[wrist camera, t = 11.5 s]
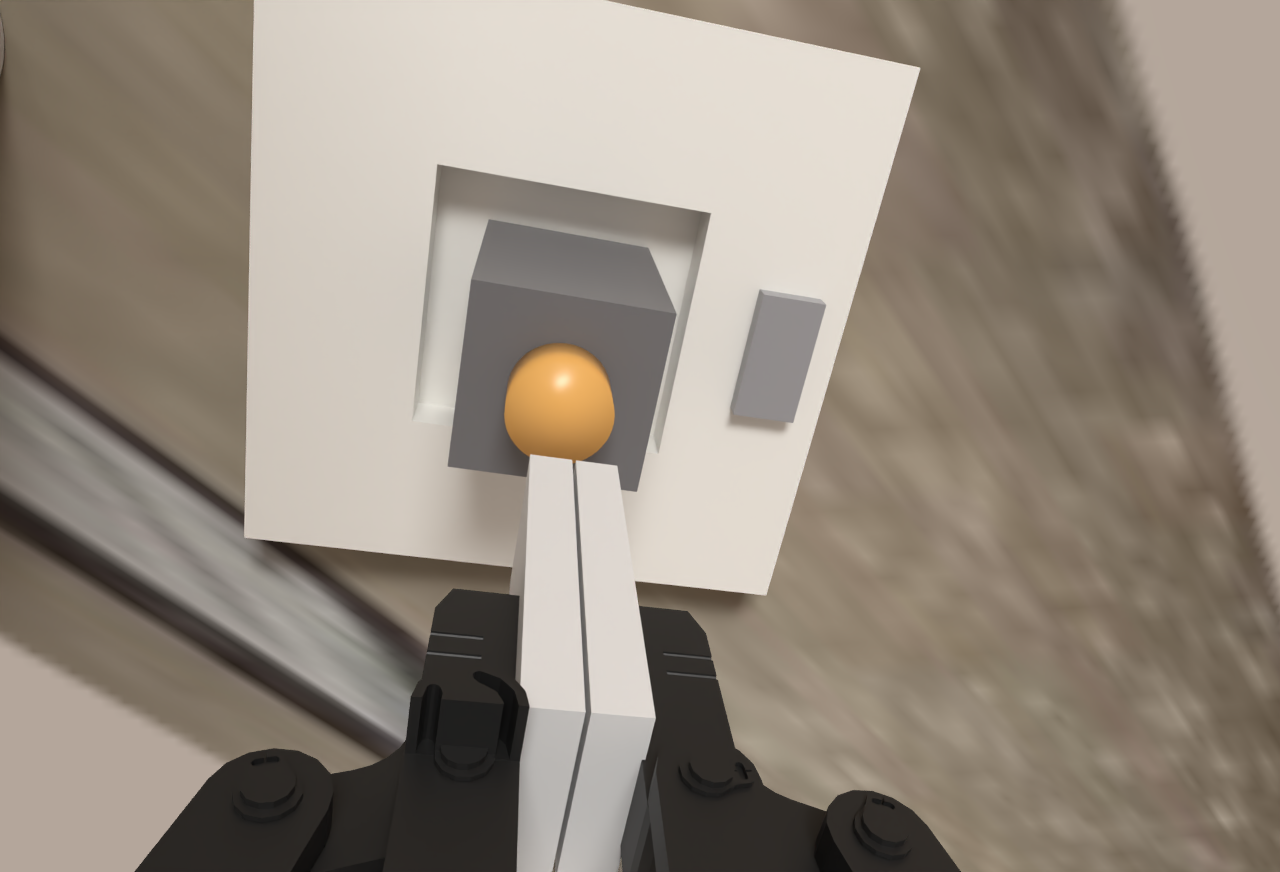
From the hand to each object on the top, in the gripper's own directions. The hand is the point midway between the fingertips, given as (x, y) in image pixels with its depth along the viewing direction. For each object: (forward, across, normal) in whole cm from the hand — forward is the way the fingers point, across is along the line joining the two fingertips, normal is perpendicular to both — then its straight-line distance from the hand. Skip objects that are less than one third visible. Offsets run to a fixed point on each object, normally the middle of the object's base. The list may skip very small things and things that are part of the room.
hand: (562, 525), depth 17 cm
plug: (+14, 0, 0) cm, 14 cm away
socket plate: (+14, 0, 0) cm, 14 cm away
